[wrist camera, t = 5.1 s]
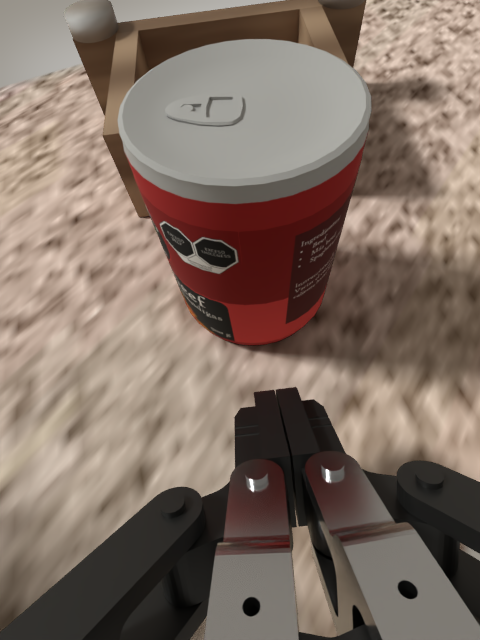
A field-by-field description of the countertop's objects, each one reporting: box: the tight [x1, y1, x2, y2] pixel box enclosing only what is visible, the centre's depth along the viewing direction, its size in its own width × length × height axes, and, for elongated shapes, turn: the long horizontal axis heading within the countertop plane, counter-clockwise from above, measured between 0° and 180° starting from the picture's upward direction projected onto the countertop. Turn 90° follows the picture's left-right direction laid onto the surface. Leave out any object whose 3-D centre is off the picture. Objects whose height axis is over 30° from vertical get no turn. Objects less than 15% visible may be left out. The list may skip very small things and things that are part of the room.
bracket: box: [64, 0, 366, 217], centre depth 24 cm, size 13×20×7 cm, turn 96°
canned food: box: [118, 39, 371, 345], centre depth 16 cm, size 8×8×11 cm
